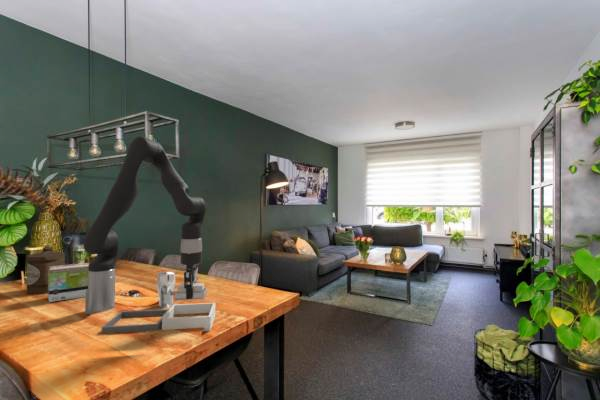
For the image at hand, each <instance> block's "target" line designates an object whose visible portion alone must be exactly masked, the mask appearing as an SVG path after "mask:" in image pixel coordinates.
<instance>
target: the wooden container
mask: <svg viewBox="0 0 600 400" xmlns="http://www.w3.org/2000/svg"><path fill="white" fill-rule="evenodd" d="M26 262H27V265H26V266H27V267H26V293H27V294H29V295H44V294H48V276H49V267H50V266H60V265H66V253H65V252H64V251H52V247H50V246H49V245H48V246H44V247H42V251H41V252H40V253H32V254H28V255H27V257H26Z"/></svg>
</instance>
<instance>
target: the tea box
mask: <svg viewBox="0 0 600 400" xmlns="http://www.w3.org/2000/svg"><path fill="white" fill-rule="evenodd" d="M88 266H89V263H88V262H84V263H83V262H81V263H72V264H71V263H70V264H65V265H60V266H50V267H49V276H48V293H47V299H48V303H53V302H59V301H60V302H61V301H64V300H73V299H80V298H85V295H86V290H87V289H88Z"/></svg>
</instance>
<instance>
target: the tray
mask: <svg viewBox="0 0 600 400" xmlns="http://www.w3.org/2000/svg"><path fill="white" fill-rule="evenodd" d="M169 310H170V308H165V309H164V308H162V309H161V308H160V309H146V310H143V309H142V310H123V311H120V312H119V313H117V314H116V315H115V316H114V317H113V318H111V319H110V320H109V321H108V322H107V323H105V324H104V325H103V326H102V327H101V334H114V333H115V334H116V333H131V332H133V333H134V332H146V331H148V332H149V331H159V329H160V328H162V319H163V317H164V316H165V315H166V314H167V312H168V311H169ZM152 316H153V317H154V316H155V317H156V316H161V317H160V318H159V320H158V321H157V322H156V323H144V324H143V323H142V324H141V323H139V324H123V325H121V324H120V325H116V324H117V323H118V322H119V321H121V319H122V318H133V317H134V318H135V317H136V318H137V317H152Z"/></svg>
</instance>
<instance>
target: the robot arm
mask: <svg viewBox="0 0 600 400" xmlns="http://www.w3.org/2000/svg"><path fill="white" fill-rule="evenodd" d="M143 162H144V163H150V164H151V165H152V166H154V167H155V168H156V169H157V171H158V172H159V174H160V182H161V185H162V186H163V187H164V189H165V190H166V191H167V192H168V194H169V195H170V197H171V198H172V201H173V204H174V206H175V209H176V210H177V212H178V213H179V214H180V215H182V216H184V217H189V218H188V221H186V222H184V223H182V225H181V238H180V239H181V241H180V264H181V265H183V266H186V267H185V268H186V269H184V272H183V284H184V288H186V299H192V298H193V283H198V276H199V275H198V274H199V272H198V271H199V264H202V263H203V239H202V234H203V232H202V229H203V227H202V226H203V224H204V220H205V215H206V212H207V205H206V202H205V200H204V198H202V197H200V196H199V197H198V196H189V193H190V187H189V186H188V184H187V183H186V182H185V181H184V179H183V178H182V177H181V176H180V174H179V173H178V171H177V170H176V169H175V167H174V165H173V163H172V161H170V159H169V157H168V155H167V153H166V151H165V149H164V147H163V146H162V145H161V143H160V142H158V141H155V140H153V139H150V138H147V137H144V136H137V137H135V138H134V139H133V140H132V141H131V142H130V144H129V147H128V149H127V152H126V155H125V158H124V161H123V164H122V166H121V168H120V171H119V172H118V175H117V177H116V180H115V181H114V183H113V186H112V187H111V189H110V191H109V193H108V195H107V198H106V200H105V202H104V204H103V205H102V208H101V209H100V211H99V213H98V215H97V217H96V219H95V220H94V222H93V224H92V225H91V227H89V230H88V231H87V233H86V235H85V236H84V238H83V243H82V244H83V245H82V247H83V249H84V251H85V253H87V254H89V255H97V256H96V257H95V259H93V260H92V261H91V262H90V263H88V264H89V266H88V289H87V290H86V295H85V297H84V298H85V300H84V301H85V302H84V305H85V307H84V309H85V310H84V311H85V312H84V314H85V315H89V316H92V315H93V314H94V313H95V314H96V313H100V312H105V311H109V310H111V309H114V308H115V306H116V303H115V302H116V264H117V262H118V260H119V258H118V257H119V246H120V245H119V242H120V241H119V236H118V233H117V232H116V231H114V230H113V229H112V228H113V227H114V225H115V224H117V222H118V221H119V220H120V219H122V218H123V216H125V215H126V214H127V213H128V212H129V211H130V210H131V208H132V206H133V205H134V203H135V201H136V200H137V196H138V194H139V185H138V172H139V170H140V167H141V165H142V164H143ZM188 283H190V285H188Z"/></svg>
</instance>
